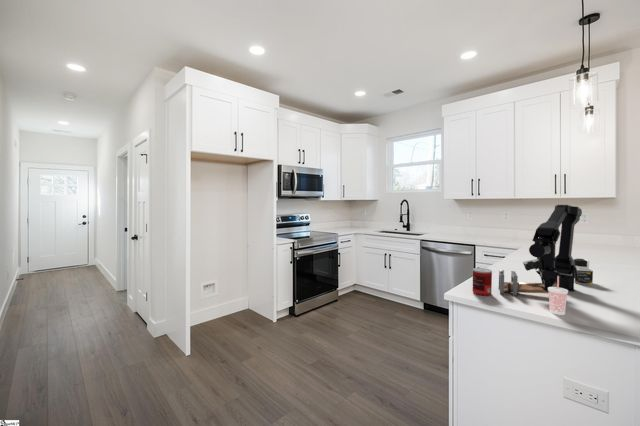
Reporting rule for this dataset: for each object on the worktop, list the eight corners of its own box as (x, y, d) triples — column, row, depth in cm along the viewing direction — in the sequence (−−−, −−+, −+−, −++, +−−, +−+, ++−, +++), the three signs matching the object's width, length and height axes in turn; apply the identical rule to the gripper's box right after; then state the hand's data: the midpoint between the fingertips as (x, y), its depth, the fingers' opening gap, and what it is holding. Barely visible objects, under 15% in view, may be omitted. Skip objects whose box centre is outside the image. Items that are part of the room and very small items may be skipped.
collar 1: (502, 288, 142) (503, 268, 142) (504, 294, 134) (505, 272, 133) (497, 288, 143) (498, 267, 143) (499, 294, 135) (499, 272, 134)
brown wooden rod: (556, 292, 131) (556, 282, 131) (559, 295, 127) (558, 284, 127) (501, 290, 140) (500, 280, 140) (502, 293, 136) (501, 283, 136)
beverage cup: (543, 309, 116) (544, 274, 115) (559, 309, 116) (560, 274, 115) (554, 315, 110) (556, 278, 109) (571, 315, 110) (573, 278, 109)
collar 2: (514, 290, 140) (515, 271, 140) (517, 296, 131) (517, 276, 131) (510, 289, 141) (511, 271, 141) (513, 295, 132) (513, 276, 132)
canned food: (489, 291, 139) (489, 268, 138) (493, 297, 131) (493, 272, 131) (471, 290, 141) (471, 267, 141) (473, 295, 134) (474, 271, 133)
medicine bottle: (574, 283, 150) (575, 260, 150) (569, 279, 157) (569, 257, 156) (592, 284, 148) (593, 261, 147) (586, 281, 154) (587, 258, 154)
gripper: (521, 250, 142) (521, 282, 142) (528, 257, 125) (527, 293, 126) (550, 251, 137) (549, 285, 137) (561, 259, 120) (560, 297, 121)
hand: (546, 289), depth 130 cm, fingers closed on brown wooden rod, 4 cm apart
